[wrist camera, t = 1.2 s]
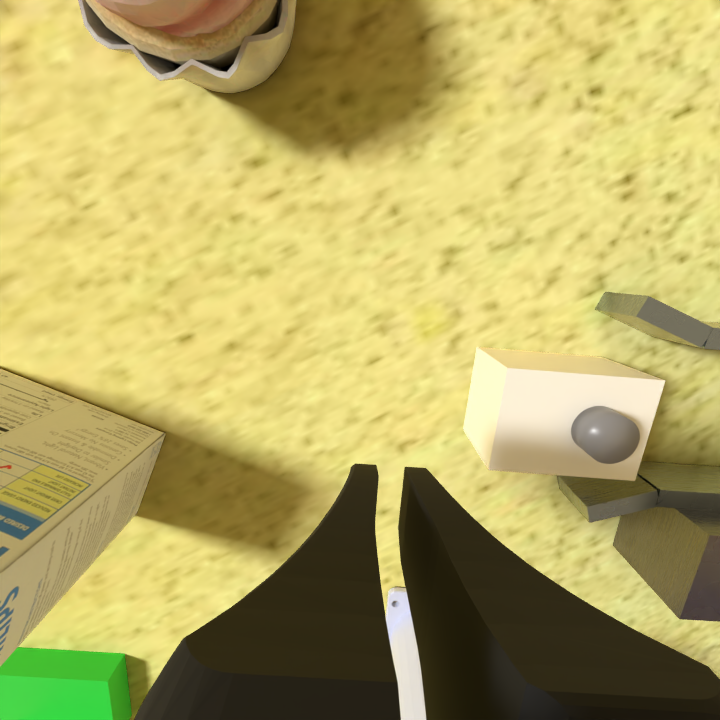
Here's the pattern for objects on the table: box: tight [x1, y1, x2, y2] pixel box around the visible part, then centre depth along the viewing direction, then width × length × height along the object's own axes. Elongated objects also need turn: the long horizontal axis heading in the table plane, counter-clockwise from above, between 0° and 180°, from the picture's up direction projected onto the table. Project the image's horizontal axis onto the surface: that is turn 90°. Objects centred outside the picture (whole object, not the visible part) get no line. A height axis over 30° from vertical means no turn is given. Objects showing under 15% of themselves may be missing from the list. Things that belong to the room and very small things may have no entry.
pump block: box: [463, 347, 666, 481], centre depth 18 cm, size 5×7×6 cm
